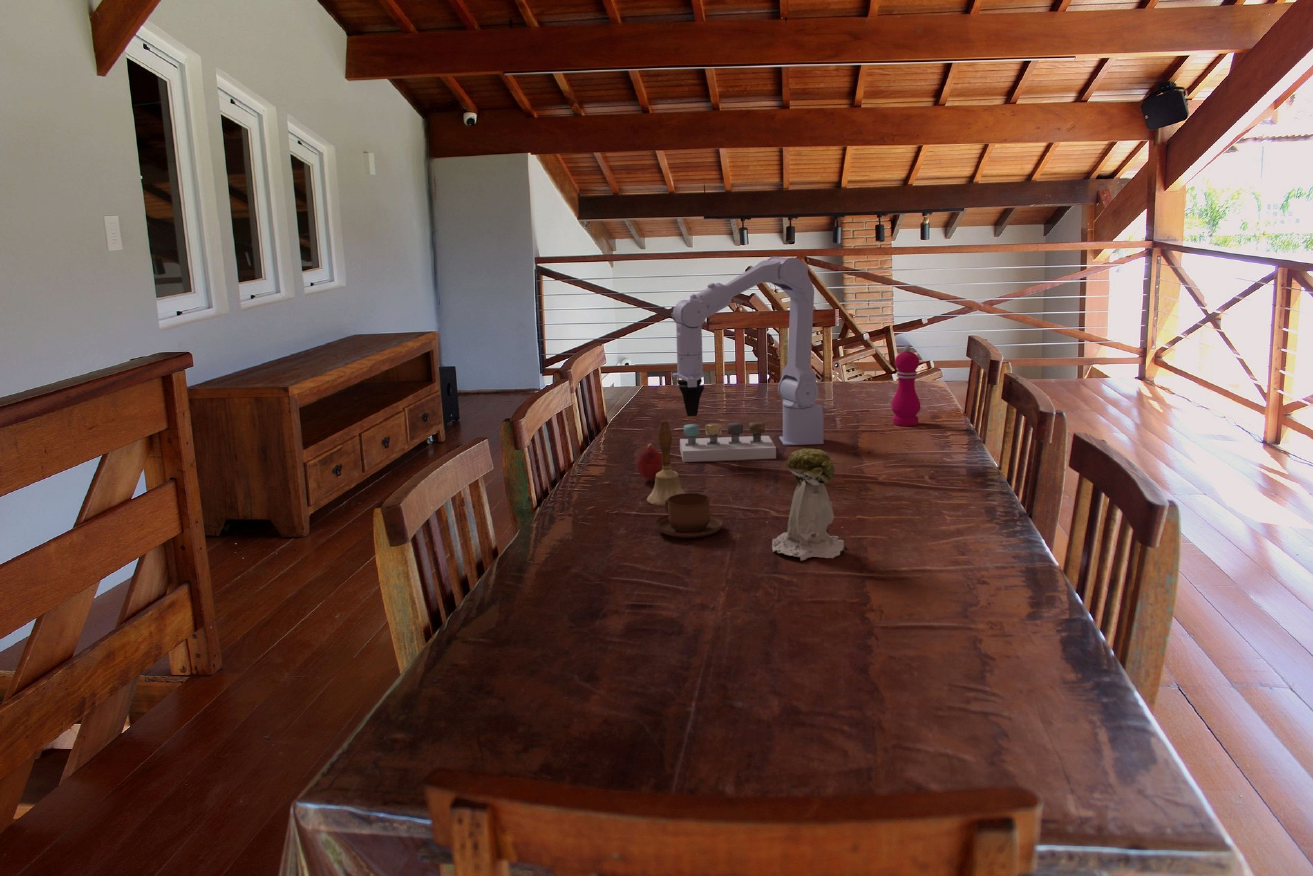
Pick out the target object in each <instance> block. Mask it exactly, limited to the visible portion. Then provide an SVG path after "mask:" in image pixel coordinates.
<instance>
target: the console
mask: <svg viewBox="0 0 1313 876" xmlns="http://www.w3.org/2000/svg"><path fill="white" fill-rule="evenodd" d="M717 438H718V443H716V444H710V437H703V438H702V437H701V438H699V437H698V438H697V437H696V444H694V445H689V444H688V438H680V439H679V451H680V455H681V456H680V457H681V459H682V463H688V462H689V463H690V462H692V463H693V462H695V463H696V462H697V463H698V462H715V461H716V462H717V461H719V462H720V461H742V460H767V459H768V460H770V459H777V447H776V446H775V444H774V442H773V440H772V439H771V437H770V436H769V435H761V442H753V435H752V436H750V435H749V436H739V443H732V442H731V436H729V437H727V436H725V437H717Z"/></svg>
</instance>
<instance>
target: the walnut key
mask: <svg viewBox="0 0 1313 876" xmlns="http://www.w3.org/2000/svg"><path fill="white" fill-rule="evenodd" d="M748 433H750V434H752V436H753V442H761V436H762V434H764V433H766V425H765V422H763V421H751V422H749V423H748Z"/></svg>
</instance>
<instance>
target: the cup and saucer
mask: <svg viewBox="0 0 1313 876" xmlns="http://www.w3.org/2000/svg"><path fill="white" fill-rule="evenodd" d="M710 501H711V500H710V497H709V496H708V495H706V494H702V493H695V492H688V493H687V492H685V493H684V494H677V495H673V496H671V497H669V498H668V499H667V500H666V501H665V506H664V510H665V512H666V513H667V514H666V515H663V516H661V517H659V518H657V520H656V521H655V527H656V529H657V530H658V531H660V533H662V534H664V535H666V536H669V537H673V538H678V539H679V538H681V539H692V538H693V539H695V538H702V537H707V536H710V535H713V534H715V533H717V532H718V531H719V530H720V529H721V528H722V527H723V526H724V520H723V519H724V518H722V517H720V516H719V515H716V514H713V513H710V511H711V510H710V506H711V505H710V503H711V502H710Z"/></svg>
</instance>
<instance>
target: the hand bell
mask: <svg viewBox="0 0 1313 876" xmlns="http://www.w3.org/2000/svg"><path fill="white" fill-rule="evenodd" d="M657 434H658V444H659V448H660V450H661V455H662V465H663V466H662V468H663V469H662V470H661V471H660V472H658V473H657V474H656V479H655V480H654V486H653V489H652V491H651V493H650V494H649V495H648V496H647V498H646V502H647V503H649V504H650V505H653V506H660V507H665V501H666V500H667V499H668V498H669V497H671V496H673V495H677V494H684V493H686V492H685V491H684V490H683V488H682V485H681V482H680V475H679V473H678V472H677V471H675V470H673V469H672V462H671V452H670V451H671V446H672V440H673V439H672V438H673V436H672V430H671V427H670V425H669V421H668V420H665V419H662V420H660V425H659V428H658V433H657Z"/></svg>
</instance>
